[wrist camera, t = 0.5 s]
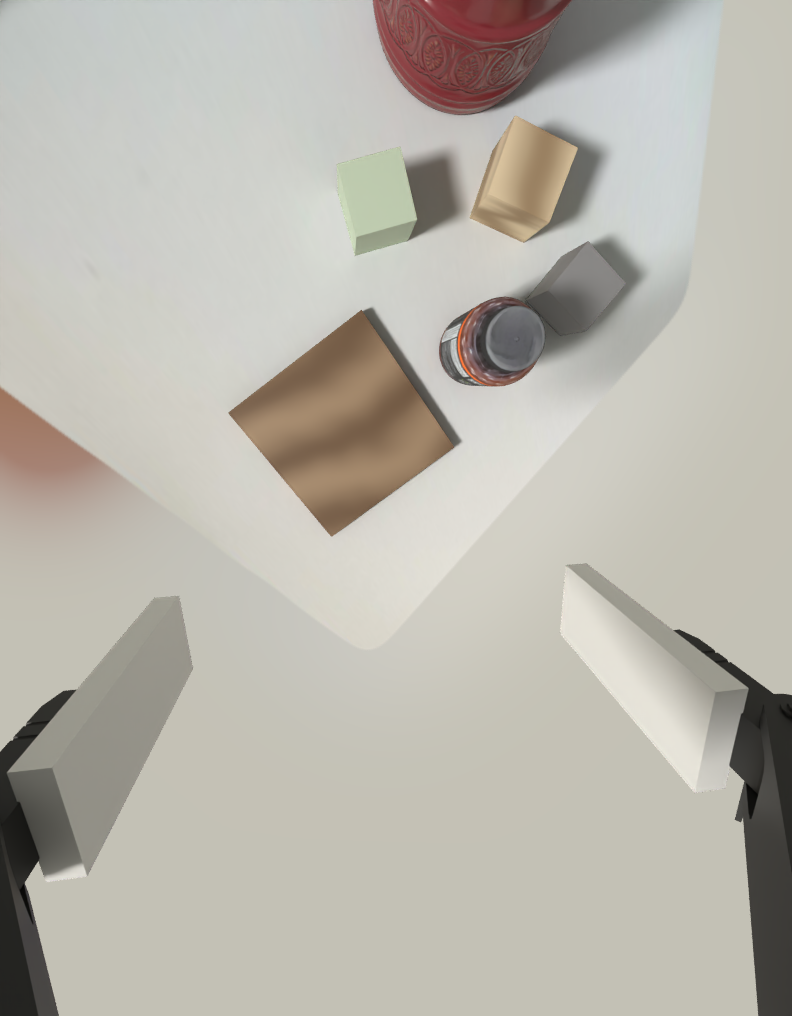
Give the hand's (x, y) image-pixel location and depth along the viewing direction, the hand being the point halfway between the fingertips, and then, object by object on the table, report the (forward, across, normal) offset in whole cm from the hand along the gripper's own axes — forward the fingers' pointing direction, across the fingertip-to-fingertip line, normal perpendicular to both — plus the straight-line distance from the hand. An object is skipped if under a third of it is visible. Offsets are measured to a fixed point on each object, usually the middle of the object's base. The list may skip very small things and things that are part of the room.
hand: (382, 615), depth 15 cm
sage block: (+27, +2, +20) cm, 34 cm away
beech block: (+27, +14, +21) cm, 37 cm away
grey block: (+27, +18, +14) cm, 36 cm away
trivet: (+27, -1, +3) cm, 27 cm away
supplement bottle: (+27, +10, +10) cm, 31 cm away
